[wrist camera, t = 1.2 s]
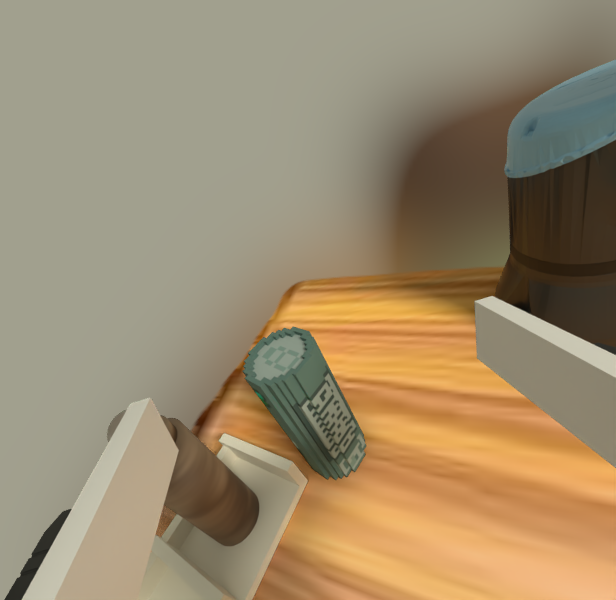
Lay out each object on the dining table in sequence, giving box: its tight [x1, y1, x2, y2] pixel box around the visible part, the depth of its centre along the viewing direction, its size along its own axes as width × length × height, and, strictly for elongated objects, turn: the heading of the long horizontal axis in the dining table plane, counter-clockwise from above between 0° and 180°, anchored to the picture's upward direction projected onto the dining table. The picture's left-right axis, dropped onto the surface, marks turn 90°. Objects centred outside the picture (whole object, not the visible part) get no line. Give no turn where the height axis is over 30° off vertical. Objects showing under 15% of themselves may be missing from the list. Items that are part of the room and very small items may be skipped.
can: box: [243, 327, 366, 480], centre depth 30 cm, size 6×6×15 cm
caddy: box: [137, 433, 308, 600], centre depth 28 cm, size 22×10×4 cm, turn 150°
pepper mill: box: [107, 409, 259, 546], centre depth 27 cm, size 5×5×17 cm
